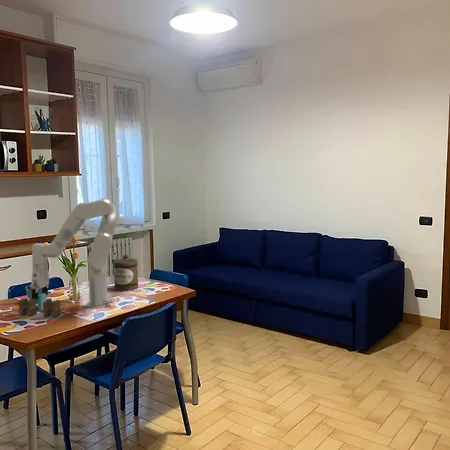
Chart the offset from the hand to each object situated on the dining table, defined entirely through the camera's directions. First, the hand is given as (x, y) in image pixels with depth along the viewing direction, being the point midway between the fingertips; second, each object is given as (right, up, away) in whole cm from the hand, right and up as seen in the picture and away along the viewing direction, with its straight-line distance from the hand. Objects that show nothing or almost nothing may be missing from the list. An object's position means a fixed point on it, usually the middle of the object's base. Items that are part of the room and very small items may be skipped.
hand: (40, 297), depth 252 cm
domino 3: (+9, -8, -13) cm, 17 cm away
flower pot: (-8, -5, +14) cm, 17 cm away
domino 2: (0, -8, -11) cm, 13 cm away
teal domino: (+1, -7, +1) cm, 7 cm away
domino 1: (-4, -7, -10) cm, 13 cm away
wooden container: (+37, -2, +46) cm, 59 cm away
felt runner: (+5, -8, -12) cm, 15 cm away
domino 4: (+14, -8, -13) cm, 21 cm away
